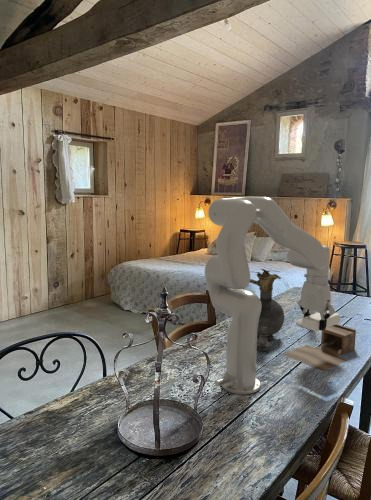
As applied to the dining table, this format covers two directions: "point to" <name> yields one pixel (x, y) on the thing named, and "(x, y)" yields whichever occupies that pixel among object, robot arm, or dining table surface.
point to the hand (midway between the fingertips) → (314, 326)
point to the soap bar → (314, 320)
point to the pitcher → (268, 305)
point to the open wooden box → (327, 348)
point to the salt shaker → (263, 339)
